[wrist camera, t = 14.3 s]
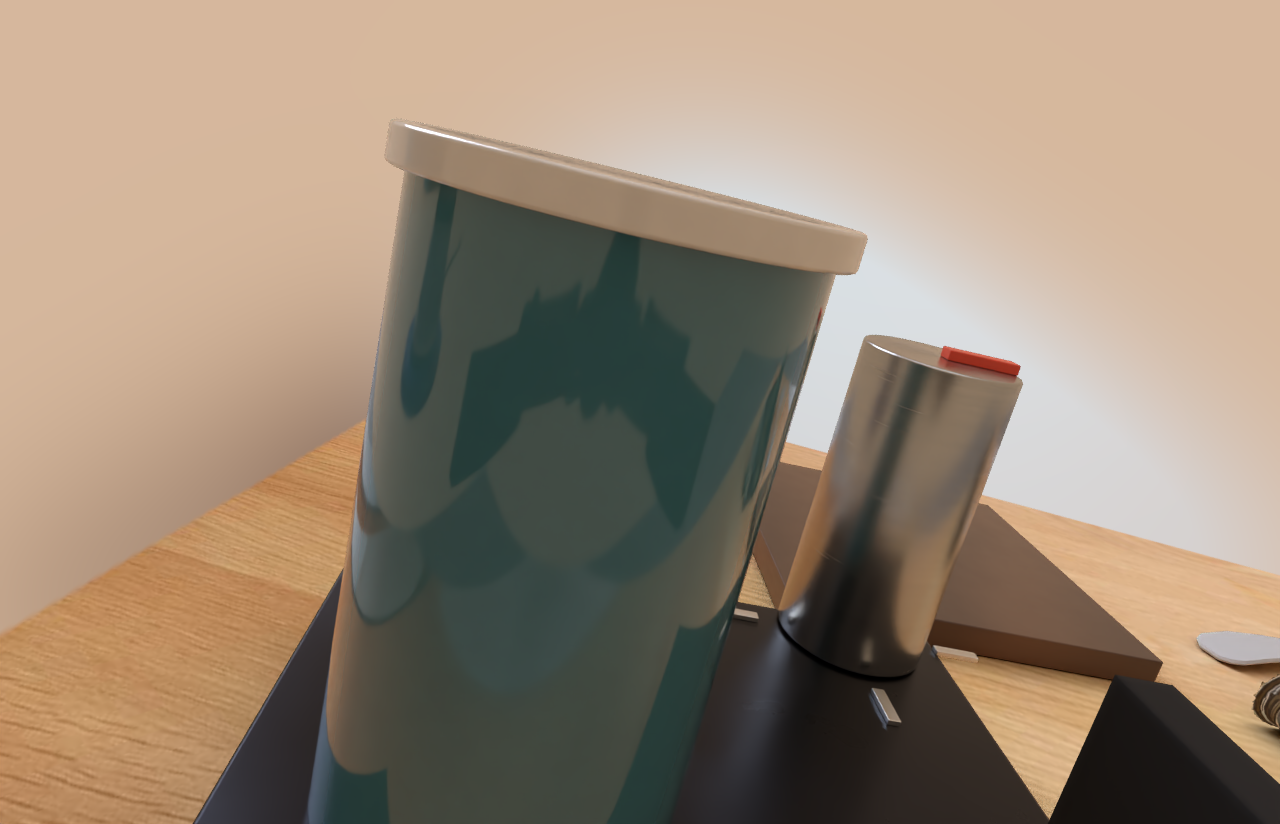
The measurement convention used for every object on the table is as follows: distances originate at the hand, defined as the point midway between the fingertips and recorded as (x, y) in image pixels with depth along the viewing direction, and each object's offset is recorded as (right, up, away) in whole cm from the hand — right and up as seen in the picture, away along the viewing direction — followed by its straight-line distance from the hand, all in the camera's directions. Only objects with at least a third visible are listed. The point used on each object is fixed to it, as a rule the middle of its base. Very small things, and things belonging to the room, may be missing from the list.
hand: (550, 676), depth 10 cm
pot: (-2, -5, +7) cm, 9 cm away
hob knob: (+7, -4, +17) cm, 19 cm away
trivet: (+14, -4, +32) cm, 35 cm away
